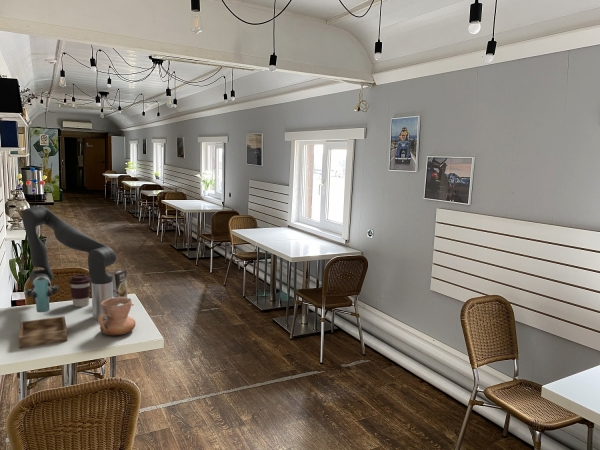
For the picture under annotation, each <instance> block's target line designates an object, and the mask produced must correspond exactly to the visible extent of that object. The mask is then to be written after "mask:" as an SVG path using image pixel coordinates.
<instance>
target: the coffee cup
mask: <svg viewBox="0 0 600 450" xmlns="http://www.w3.org/2000/svg"><path fill="white" fill-rule="evenodd" d="M90 283H91V278H90V276H88V274H85V273H84V274H82V273H80V274H75V275H72V277H71V278H69V280H68V284H70V292H71V299H72V305H73V306H74V307H76V308H77V307H80V308H81V307H86V306H88V305H89V304H90V295H91V294H90V293H91V292H90V291H91V284H90Z"/></svg>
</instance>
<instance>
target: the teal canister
mask: <svg viewBox="0 0 600 450" xmlns="http://www.w3.org/2000/svg"><path fill="white" fill-rule="evenodd" d="M34 285H35V296H36V299H35V307H36V313H46V312H47V313H48V312H49V311H50V310H51V309H50V308H51V307H50V297H49V295H48V280H47V279H37V280H35V281H34Z"/></svg>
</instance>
